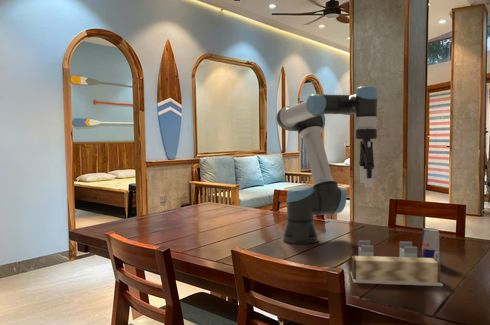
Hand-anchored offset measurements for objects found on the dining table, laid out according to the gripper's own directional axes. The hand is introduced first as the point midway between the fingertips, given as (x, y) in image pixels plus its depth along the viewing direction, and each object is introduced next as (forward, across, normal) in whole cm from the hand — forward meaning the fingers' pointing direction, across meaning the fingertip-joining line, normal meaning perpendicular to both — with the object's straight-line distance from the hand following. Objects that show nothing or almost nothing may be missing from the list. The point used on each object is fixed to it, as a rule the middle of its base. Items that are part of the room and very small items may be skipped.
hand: (366, 185), depth 152 cm
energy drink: (+27, -8, -21) cm, 35 cm away
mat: (+27, -26, -5) cm, 38 cm away
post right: (+27, -14, -12) cm, 32 cm away
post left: (+27, -14, +2) cm, 30 cm away
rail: (+26, -26, -5) cm, 38 cm away
